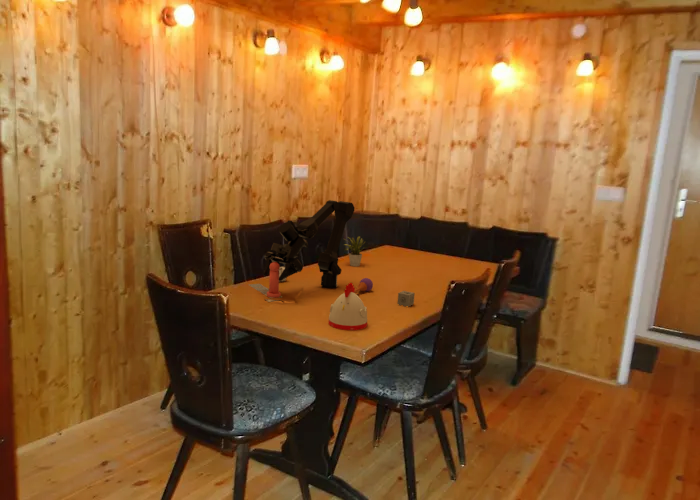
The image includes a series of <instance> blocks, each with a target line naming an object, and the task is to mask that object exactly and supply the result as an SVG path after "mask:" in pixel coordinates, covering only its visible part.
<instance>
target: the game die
mask: <svg viewBox="0 0 700 500" xmlns="http://www.w3.org/2000/svg"><path fill="white" fill-rule="evenodd" d="M285 266H286V265H284V266H280V269H279V277H280V275H281V274H282V272H283V271H284V269H285ZM287 278H288V277H286V278H285V279H283V280H281V281H279V283H281V282H283V283H285V282H286V281H287Z"/></svg>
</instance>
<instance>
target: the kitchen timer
mask: <svg viewBox="0 0 700 500" xmlns="http://www.w3.org/2000/svg"><path fill="white" fill-rule="evenodd" d="M355 289H356V287H354V285H353V282H349V283H348V284H347V285H345V289H343V290H344V292H343V293H342V294H340V295H339V296H337V298H336V300H334V302H333V303H331V304H330V308H329V316H328V325H329V326H330V327H332V328H335V329H338V330H344V331H357V330H364V329H366V328H367V326H368V310H367V309H368V308H367V306H365V304H364V301H363V300H362V299H361V298H360V297H359V296H358V294H357V293H356V294H355V293H354V290H355Z"/></svg>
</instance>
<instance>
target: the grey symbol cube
mask: <svg viewBox="0 0 700 500" xmlns="http://www.w3.org/2000/svg"><path fill="white" fill-rule="evenodd" d="M415 295H416V294H415V292H412V291H408V290H407V291H406V290H402V291H400V292H398V293H397V304H399V305H398V306H401V305H403V306H402V307H406V306H408V307H407V308H409V306H410V307H412V306H414V305H413V304H415ZM411 305H412V306H411Z"/></svg>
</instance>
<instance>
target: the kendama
mask: <svg viewBox="0 0 700 500" xmlns="http://www.w3.org/2000/svg"><path fill="white" fill-rule="evenodd" d="M373 287H374V282H373V281H372V280H371V279H370V278H368V277H365V278H364V277H363V278H362V279H361V280H360V281H359V283H358V285H357V288H356V287H355V290H354V293H355V294H356V295H357V293H359V291H361V292H369V291H371V290H372V289H373Z"/></svg>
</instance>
